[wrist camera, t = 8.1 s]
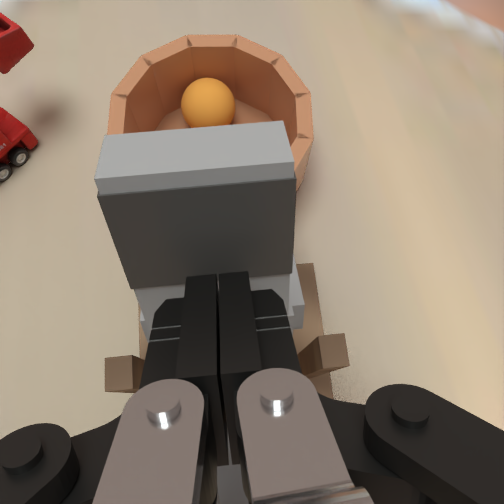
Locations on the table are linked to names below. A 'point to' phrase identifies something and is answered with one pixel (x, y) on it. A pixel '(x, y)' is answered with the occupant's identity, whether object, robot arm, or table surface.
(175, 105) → the terracotta shallow bowl
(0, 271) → the table surface
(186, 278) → the robot arm
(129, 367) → the catapult stand
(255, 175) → the grey angular piece
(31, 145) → the toy fire truck
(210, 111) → the ball
